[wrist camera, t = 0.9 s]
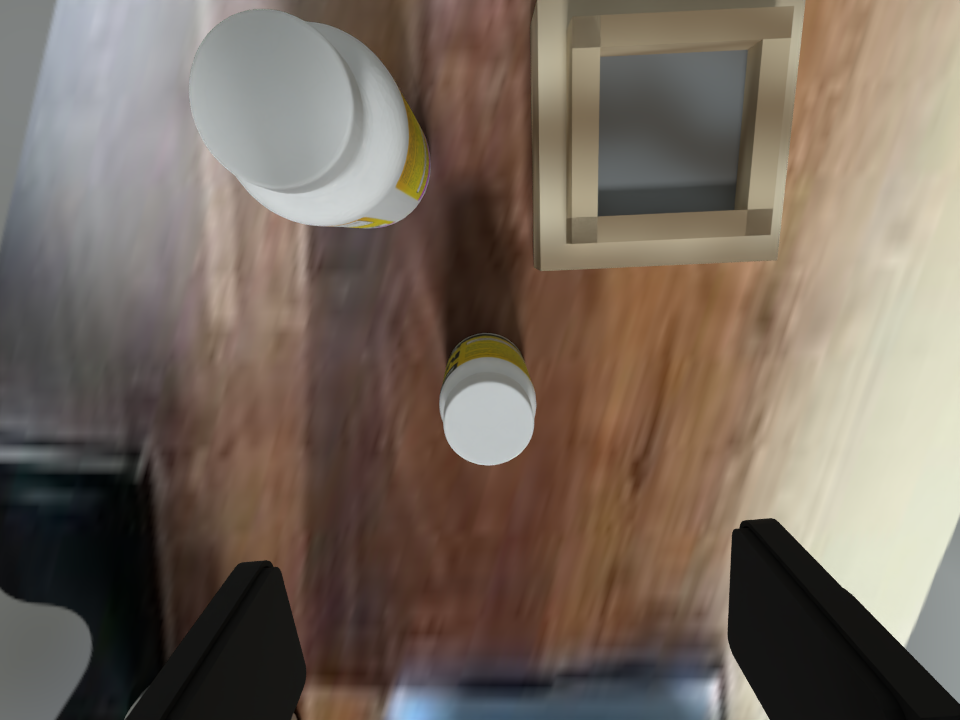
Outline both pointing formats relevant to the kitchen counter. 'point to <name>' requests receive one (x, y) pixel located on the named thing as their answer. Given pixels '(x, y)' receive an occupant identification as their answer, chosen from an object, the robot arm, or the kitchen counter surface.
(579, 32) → the plinth
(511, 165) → the kitchen counter surface
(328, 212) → the supplement bottle
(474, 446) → the supplement bottle
